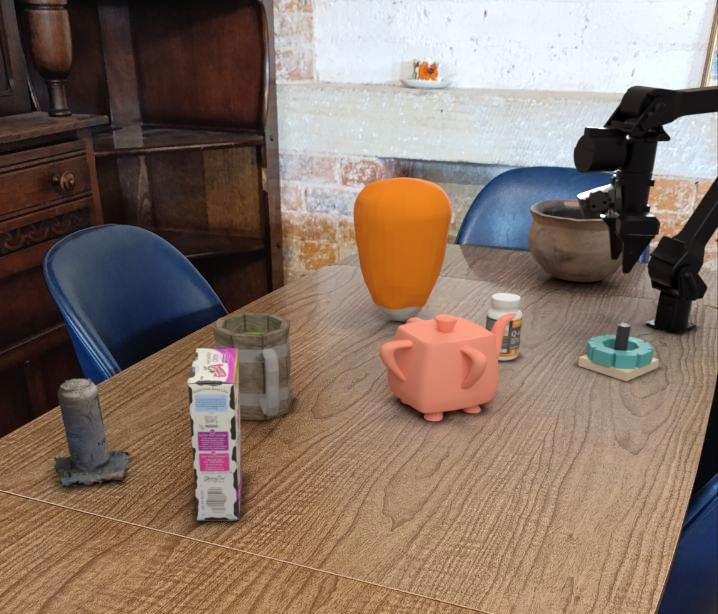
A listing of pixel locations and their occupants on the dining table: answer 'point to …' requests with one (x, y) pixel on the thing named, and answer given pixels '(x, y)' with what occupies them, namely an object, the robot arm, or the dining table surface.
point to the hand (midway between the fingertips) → (619, 266)
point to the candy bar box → (216, 433)
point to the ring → (619, 352)
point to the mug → (259, 361)
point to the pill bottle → (512, 333)
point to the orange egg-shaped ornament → (401, 242)
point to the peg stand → (622, 345)
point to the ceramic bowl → (570, 242)
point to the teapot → (444, 364)
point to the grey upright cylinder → (86, 437)
